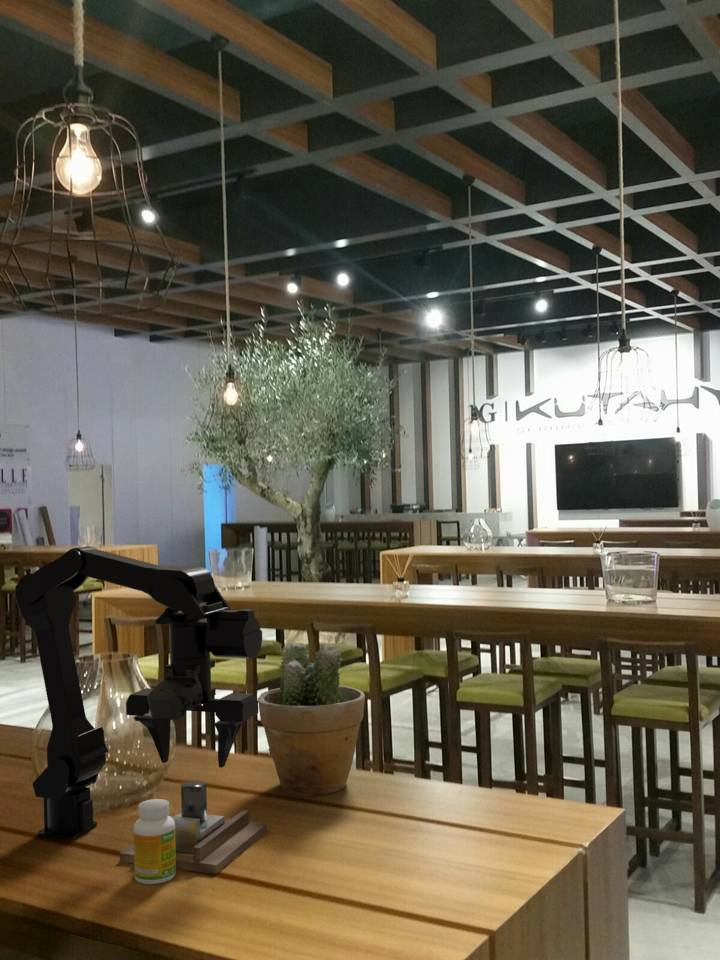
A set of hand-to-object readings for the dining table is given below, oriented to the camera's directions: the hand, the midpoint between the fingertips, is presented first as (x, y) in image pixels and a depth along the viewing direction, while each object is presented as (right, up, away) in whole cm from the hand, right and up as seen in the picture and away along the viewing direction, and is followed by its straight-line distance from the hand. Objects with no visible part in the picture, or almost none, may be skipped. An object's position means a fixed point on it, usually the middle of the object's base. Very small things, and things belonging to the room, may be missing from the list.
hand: (193, 764), depth 136 cm
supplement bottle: (-3, -12, -10) cm, 16 cm away
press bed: (0, -12, 0) cm, 12 cm away
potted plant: (+16, -12, +27) cm, 33 cm away
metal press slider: (0, -10, -1) cm, 10 cm away
